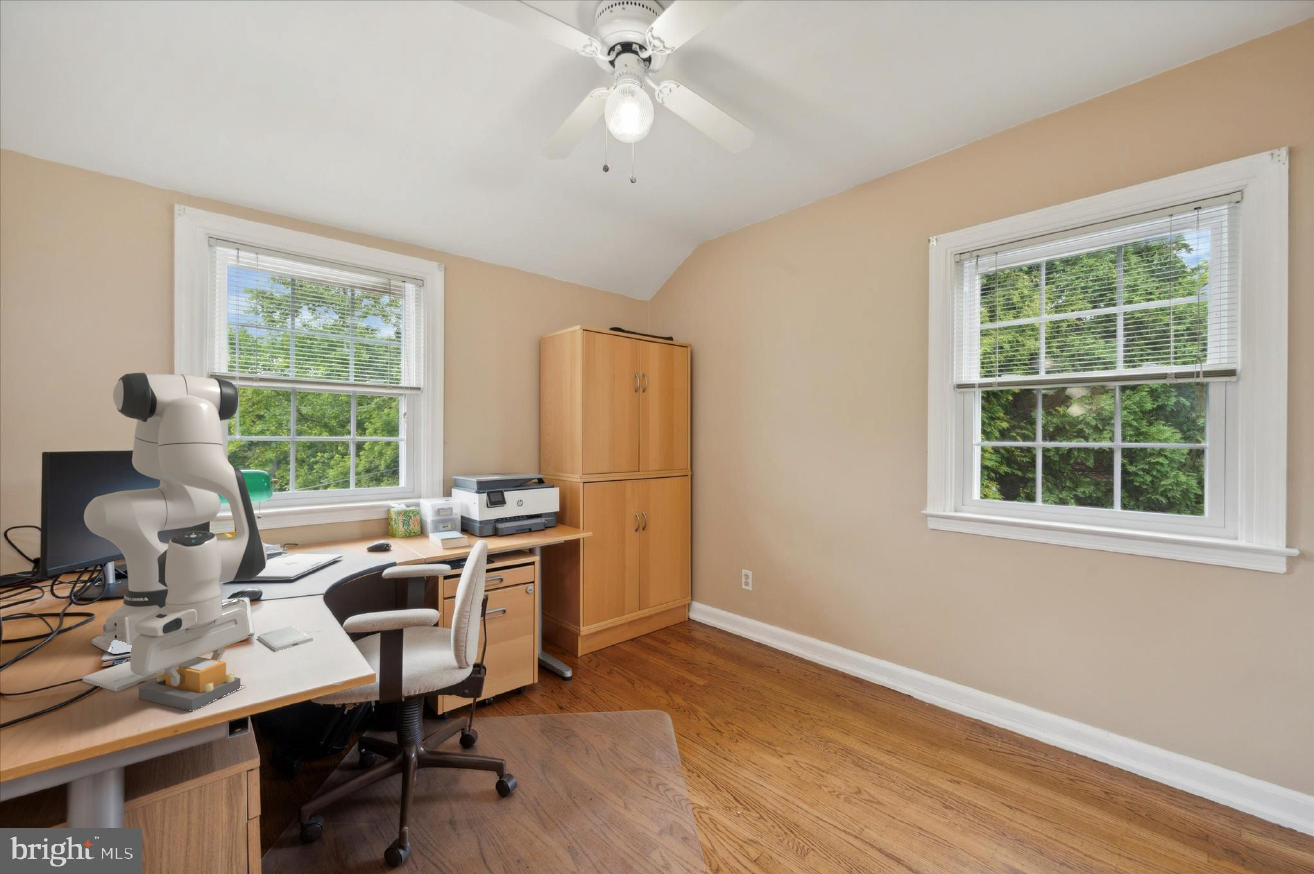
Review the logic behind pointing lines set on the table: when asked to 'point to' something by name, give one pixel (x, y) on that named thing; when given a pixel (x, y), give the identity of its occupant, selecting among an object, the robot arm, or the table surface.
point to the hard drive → (284, 638)
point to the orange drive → (199, 674)
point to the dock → (186, 693)
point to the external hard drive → (117, 677)
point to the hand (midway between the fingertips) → (195, 677)
